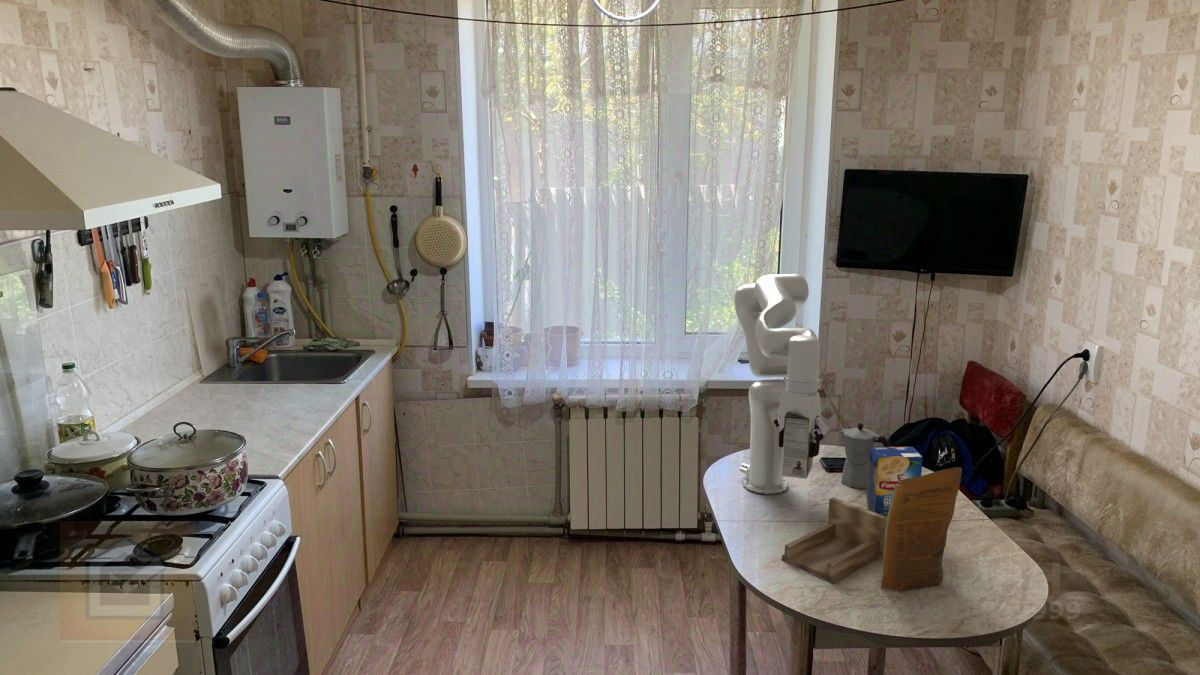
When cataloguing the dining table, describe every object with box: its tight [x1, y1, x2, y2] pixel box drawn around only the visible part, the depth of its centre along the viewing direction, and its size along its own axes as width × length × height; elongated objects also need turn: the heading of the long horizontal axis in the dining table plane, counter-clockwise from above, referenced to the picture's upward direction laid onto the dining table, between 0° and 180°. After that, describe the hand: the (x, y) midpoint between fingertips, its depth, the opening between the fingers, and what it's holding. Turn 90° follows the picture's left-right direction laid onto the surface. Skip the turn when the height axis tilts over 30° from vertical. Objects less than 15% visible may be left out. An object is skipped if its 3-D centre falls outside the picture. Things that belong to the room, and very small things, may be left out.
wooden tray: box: [781, 497, 886, 584], centre depth 215 cm, size 15×20×10 cm
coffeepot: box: [837, 422, 891, 489], centre depth 257 cm, size 15×9×18 cm, turn 51°
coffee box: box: [782, 412, 815, 480], centre depth 225 cm, size 9×6×16 cm
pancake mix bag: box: [880, 466, 963, 592], centre depth 200 cm, size 7×19×28 cm, turn 106°
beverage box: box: [865, 446, 924, 540], centre depth 226 cm, size 7×11×22 cm, turn 91°
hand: (798, 450), depth 225 cm, fingers closed on coffee box, 8 cm apart
